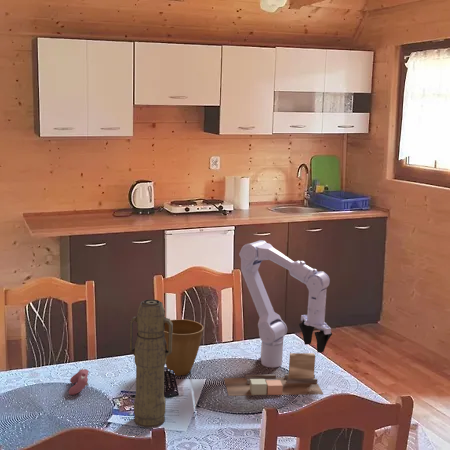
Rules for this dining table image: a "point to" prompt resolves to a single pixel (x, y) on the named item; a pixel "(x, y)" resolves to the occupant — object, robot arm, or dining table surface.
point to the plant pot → (183, 345)
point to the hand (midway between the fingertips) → (313, 347)
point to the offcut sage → (258, 386)
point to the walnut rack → (289, 385)
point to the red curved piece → (79, 381)
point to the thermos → (150, 362)
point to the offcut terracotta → (274, 387)
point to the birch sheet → (301, 366)
